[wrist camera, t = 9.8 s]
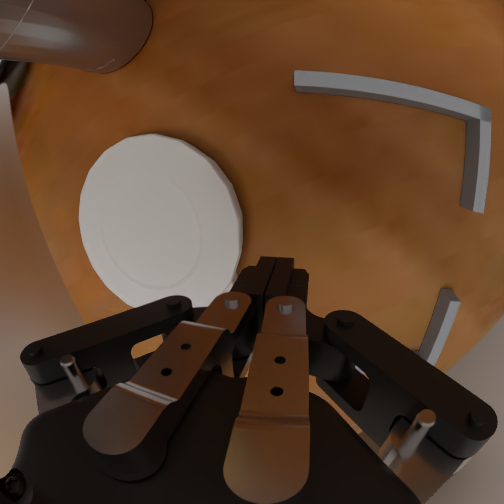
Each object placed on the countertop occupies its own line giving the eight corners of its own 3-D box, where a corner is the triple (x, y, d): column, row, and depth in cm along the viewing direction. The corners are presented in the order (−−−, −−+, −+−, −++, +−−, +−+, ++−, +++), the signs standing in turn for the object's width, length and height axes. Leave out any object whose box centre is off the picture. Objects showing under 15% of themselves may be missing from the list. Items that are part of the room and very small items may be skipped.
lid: (159, 339, 32) (148, 354, 29) (75, 191, 28) (57, 196, 25) (294, 295, 26) (292, 312, 24) (193, 98, 22) (178, 93, 19)
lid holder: (296, 78, 20) (294, 70, 17) (476, 111, 17) (490, 109, 14) (279, 350, 29) (276, 366, 26) (424, 359, 26) (430, 374, 23)
